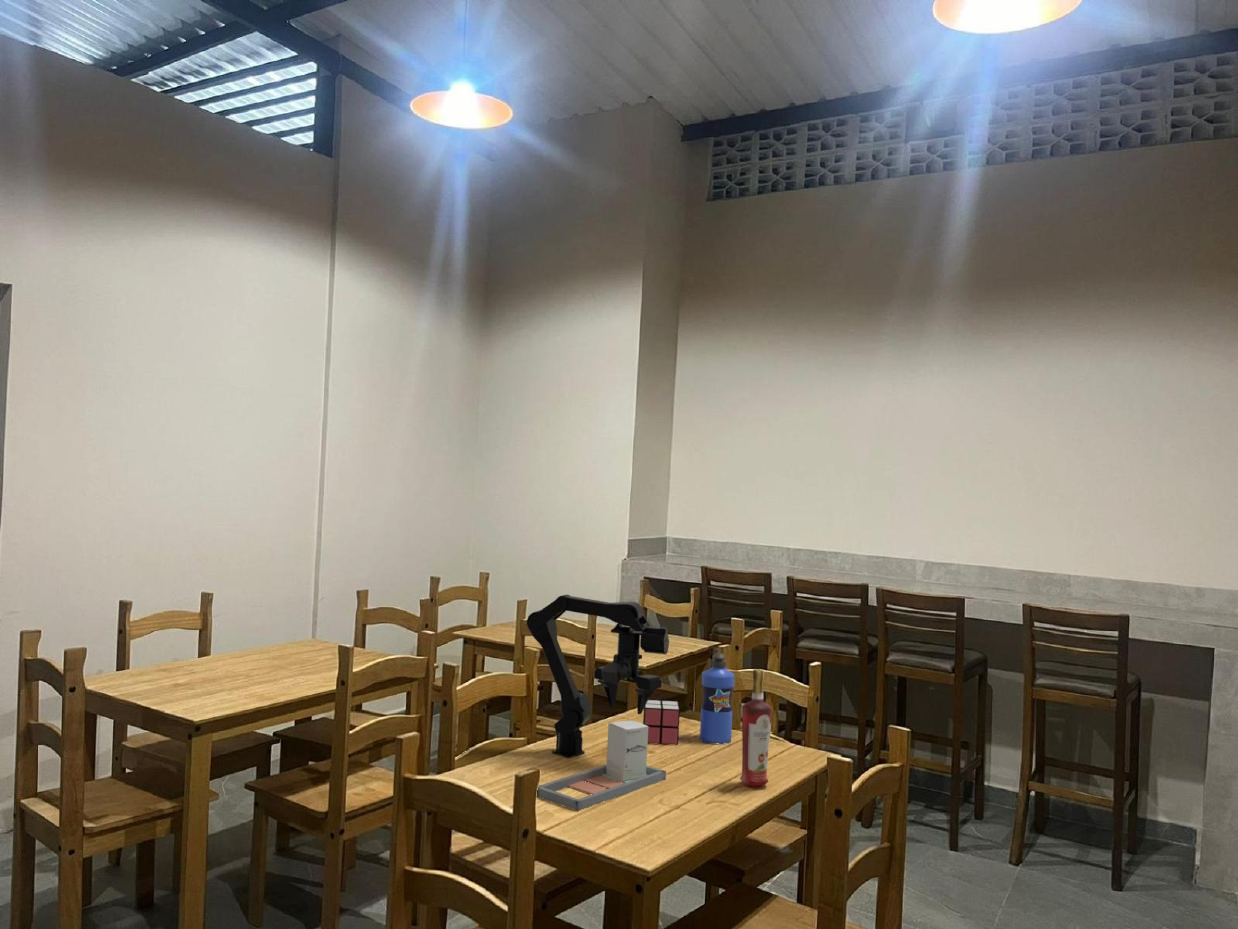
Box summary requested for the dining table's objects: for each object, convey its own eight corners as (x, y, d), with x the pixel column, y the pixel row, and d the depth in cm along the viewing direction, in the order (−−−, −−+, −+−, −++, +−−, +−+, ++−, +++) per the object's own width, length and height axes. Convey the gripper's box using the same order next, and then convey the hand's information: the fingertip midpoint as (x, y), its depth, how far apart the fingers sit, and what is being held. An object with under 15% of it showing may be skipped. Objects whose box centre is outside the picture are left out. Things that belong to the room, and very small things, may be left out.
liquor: (759, 779, 225) (764, 666, 226) (774, 788, 218) (779, 672, 219) (733, 781, 222) (738, 667, 223) (748, 791, 215) (753, 673, 216)
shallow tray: (534, 795, 205) (534, 787, 205) (623, 766, 230) (623, 759, 230) (578, 811, 196) (578, 802, 196) (665, 779, 221) (666, 771, 221)
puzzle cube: (678, 745, 252) (679, 709, 252) (642, 743, 252) (644, 707, 252) (676, 736, 262) (678, 701, 262) (642, 734, 262) (643, 699, 262)
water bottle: (695, 735, 263) (699, 649, 264) (726, 735, 265) (729, 650, 265) (704, 744, 254) (708, 655, 255) (735, 744, 256) (739, 656, 256)
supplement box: (622, 782, 216) (625, 729, 216) (605, 773, 222) (607, 722, 222) (646, 777, 220) (649, 726, 221) (629, 769, 226) (631, 718, 227)
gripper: (581, 648, 235) (578, 708, 235) (637, 659, 223) (634, 723, 223) (608, 644, 244) (606, 702, 243) (664, 655, 232) (661, 715, 232)
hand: (625, 710), depth 235 cm, fingers open, 9 cm apart
